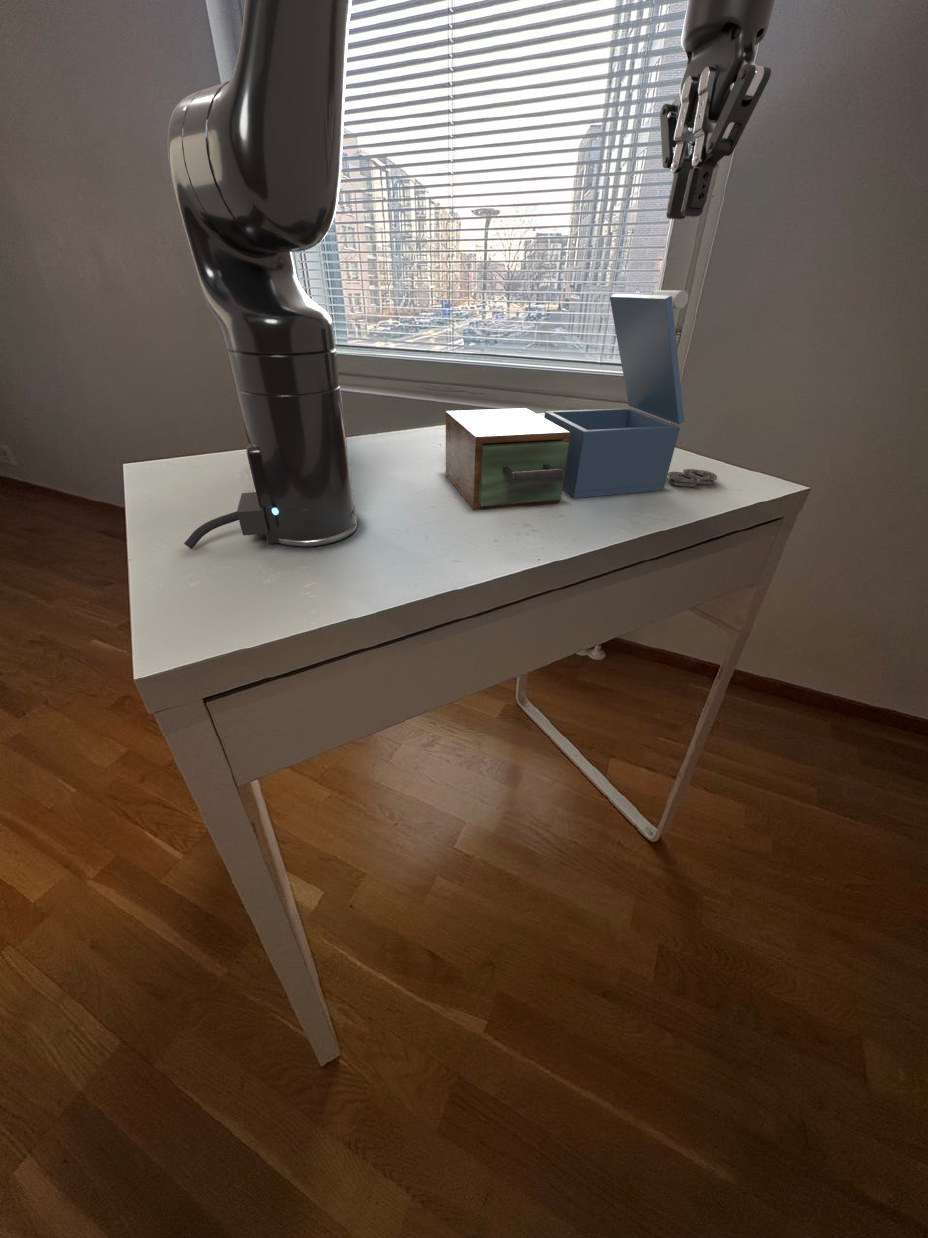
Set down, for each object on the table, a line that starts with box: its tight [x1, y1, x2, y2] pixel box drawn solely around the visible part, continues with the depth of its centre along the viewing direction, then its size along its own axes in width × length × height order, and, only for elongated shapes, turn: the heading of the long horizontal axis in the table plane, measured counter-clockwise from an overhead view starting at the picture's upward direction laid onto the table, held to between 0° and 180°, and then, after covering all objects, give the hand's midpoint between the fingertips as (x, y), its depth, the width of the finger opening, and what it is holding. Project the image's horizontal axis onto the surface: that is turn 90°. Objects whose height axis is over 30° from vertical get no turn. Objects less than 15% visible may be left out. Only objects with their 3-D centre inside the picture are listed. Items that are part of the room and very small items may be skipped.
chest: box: [543, 407, 681, 499], centre depth 65 cm, size 14×12×8 cm
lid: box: [609, 289, 689, 425], centre depth 60 cm, size 14×12×5 cm
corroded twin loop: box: [667, 468, 718, 488], centre depth 67 cm, size 5×8×1 cm, turn 117°
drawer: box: [478, 440, 569, 506], centre depth 59 cm, size 16×10×7 cm, turn 16°
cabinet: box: [445, 407, 570, 511], centre depth 62 cm, size 14×12×9 cm
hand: (683, 216), depth 52 cm, fingers closed
